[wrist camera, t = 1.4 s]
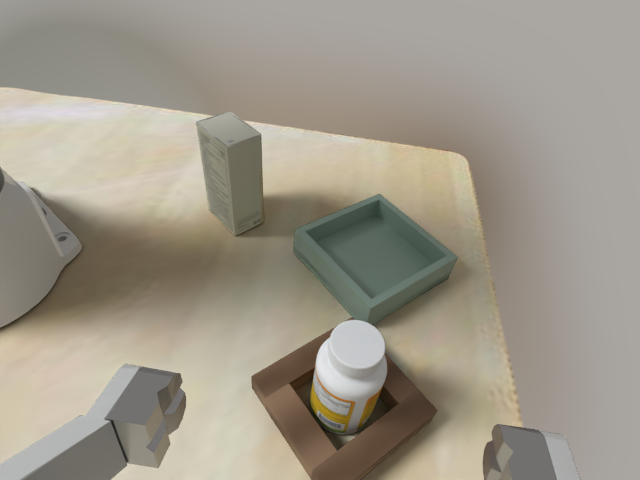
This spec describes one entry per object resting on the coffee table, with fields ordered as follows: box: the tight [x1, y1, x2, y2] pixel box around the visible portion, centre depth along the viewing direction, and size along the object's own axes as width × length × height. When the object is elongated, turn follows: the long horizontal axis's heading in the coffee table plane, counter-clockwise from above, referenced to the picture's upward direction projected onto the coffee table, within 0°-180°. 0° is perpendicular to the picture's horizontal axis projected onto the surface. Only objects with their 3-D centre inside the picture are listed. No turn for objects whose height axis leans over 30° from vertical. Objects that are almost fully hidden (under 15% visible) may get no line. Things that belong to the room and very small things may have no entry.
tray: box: [293, 194, 458, 325], centre depth 48 cm, size 13×13×4 cm
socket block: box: [252, 317, 437, 480], centre depth 36 cm, size 11×11×2 cm
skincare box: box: [196, 112, 264, 236], centre depth 48 cm, size 6×4×12 cm
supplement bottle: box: [310, 320, 387, 435], centre depth 33 cm, size 5×5×10 cm
